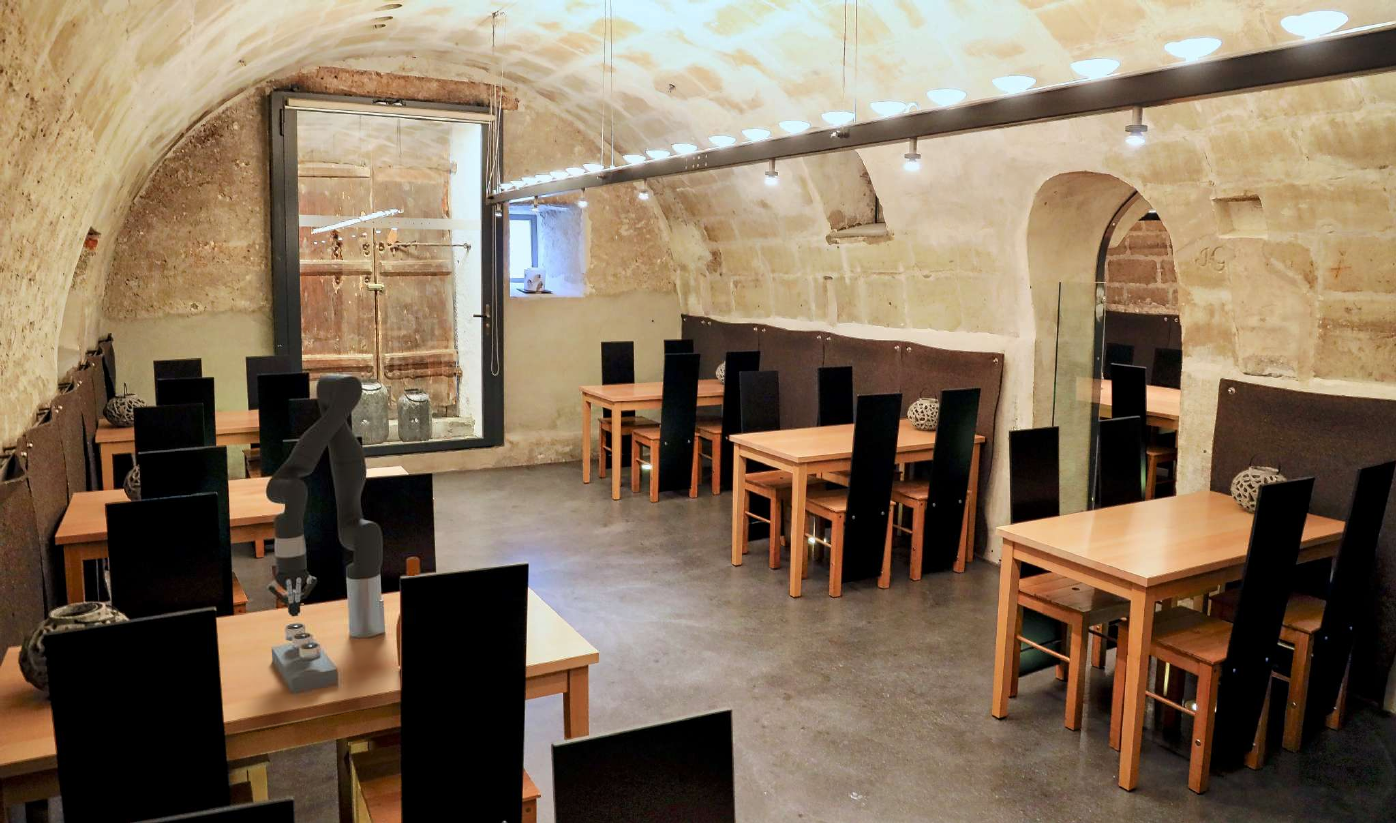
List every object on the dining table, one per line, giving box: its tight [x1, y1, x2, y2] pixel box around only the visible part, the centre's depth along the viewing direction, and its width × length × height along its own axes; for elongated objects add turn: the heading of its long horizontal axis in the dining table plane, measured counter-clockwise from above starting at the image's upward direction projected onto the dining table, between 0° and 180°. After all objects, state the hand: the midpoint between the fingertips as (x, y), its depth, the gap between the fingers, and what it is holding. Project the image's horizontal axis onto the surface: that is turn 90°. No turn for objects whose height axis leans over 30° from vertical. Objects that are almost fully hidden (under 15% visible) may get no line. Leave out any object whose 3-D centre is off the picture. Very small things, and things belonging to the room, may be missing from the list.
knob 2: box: [291, 632, 314, 651], centre depth 266 cm, size 5×5×3 cm
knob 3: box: [299, 642, 322, 662], centre depth 259 cm, size 5×5×3 cm
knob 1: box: [284, 622, 307, 642], centre depth 273 cm, size 5×5×3 cm
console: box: [271, 638, 339, 695], centre depth 267 cm, size 11×25×4 cm, turn 33°
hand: (294, 615), depth 273 cm, fingers closed
